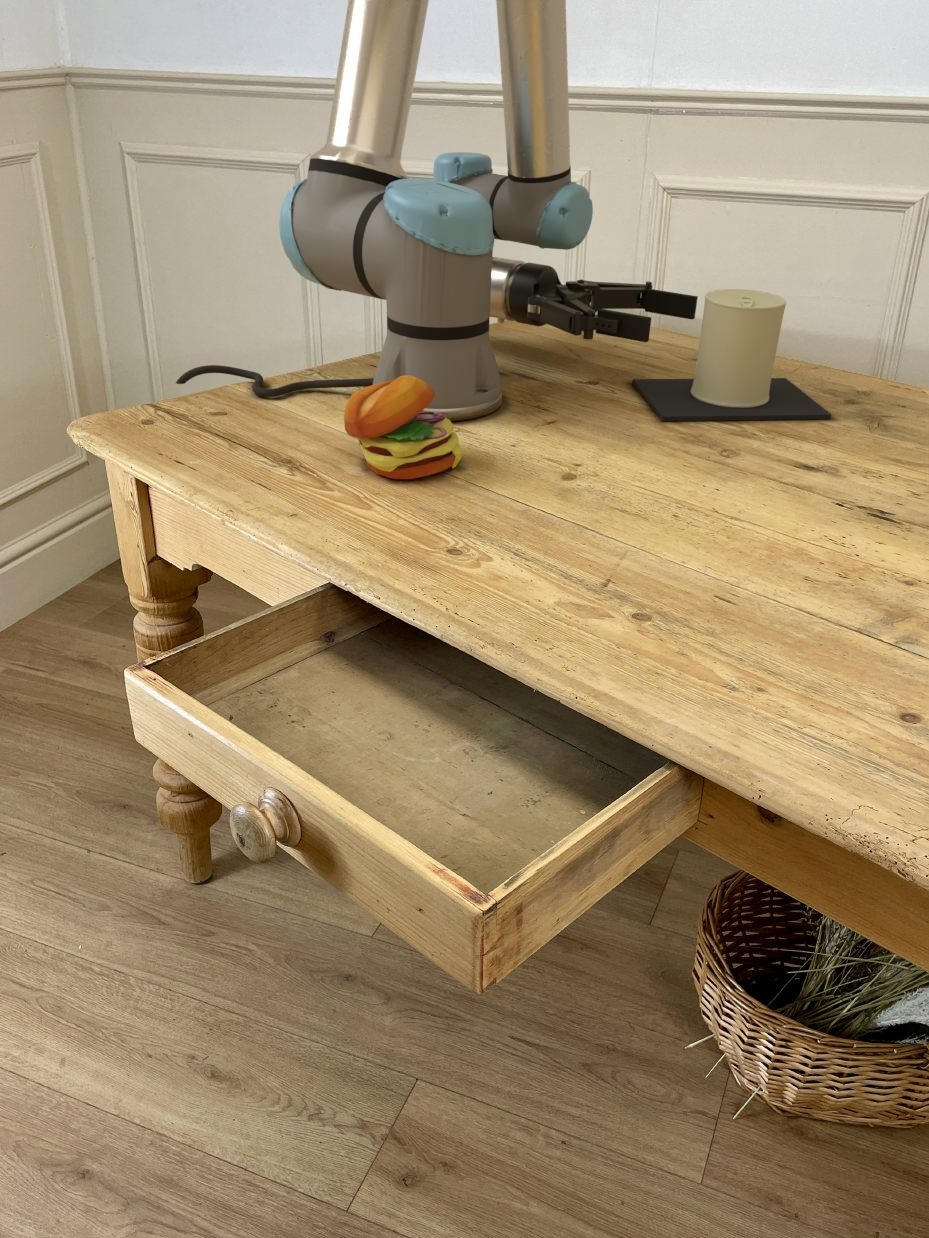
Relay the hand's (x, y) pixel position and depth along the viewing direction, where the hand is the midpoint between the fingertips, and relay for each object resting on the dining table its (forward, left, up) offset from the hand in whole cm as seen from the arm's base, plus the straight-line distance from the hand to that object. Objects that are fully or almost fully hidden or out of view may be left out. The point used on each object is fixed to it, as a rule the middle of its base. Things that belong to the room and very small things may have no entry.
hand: (673, 318), depth 119 cm
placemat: (+6, -5, -9) cm, 12 cm away
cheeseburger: (-34, -24, -9) cm, 42 cm away
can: (+7, -5, -8) cm, 12 cm away
